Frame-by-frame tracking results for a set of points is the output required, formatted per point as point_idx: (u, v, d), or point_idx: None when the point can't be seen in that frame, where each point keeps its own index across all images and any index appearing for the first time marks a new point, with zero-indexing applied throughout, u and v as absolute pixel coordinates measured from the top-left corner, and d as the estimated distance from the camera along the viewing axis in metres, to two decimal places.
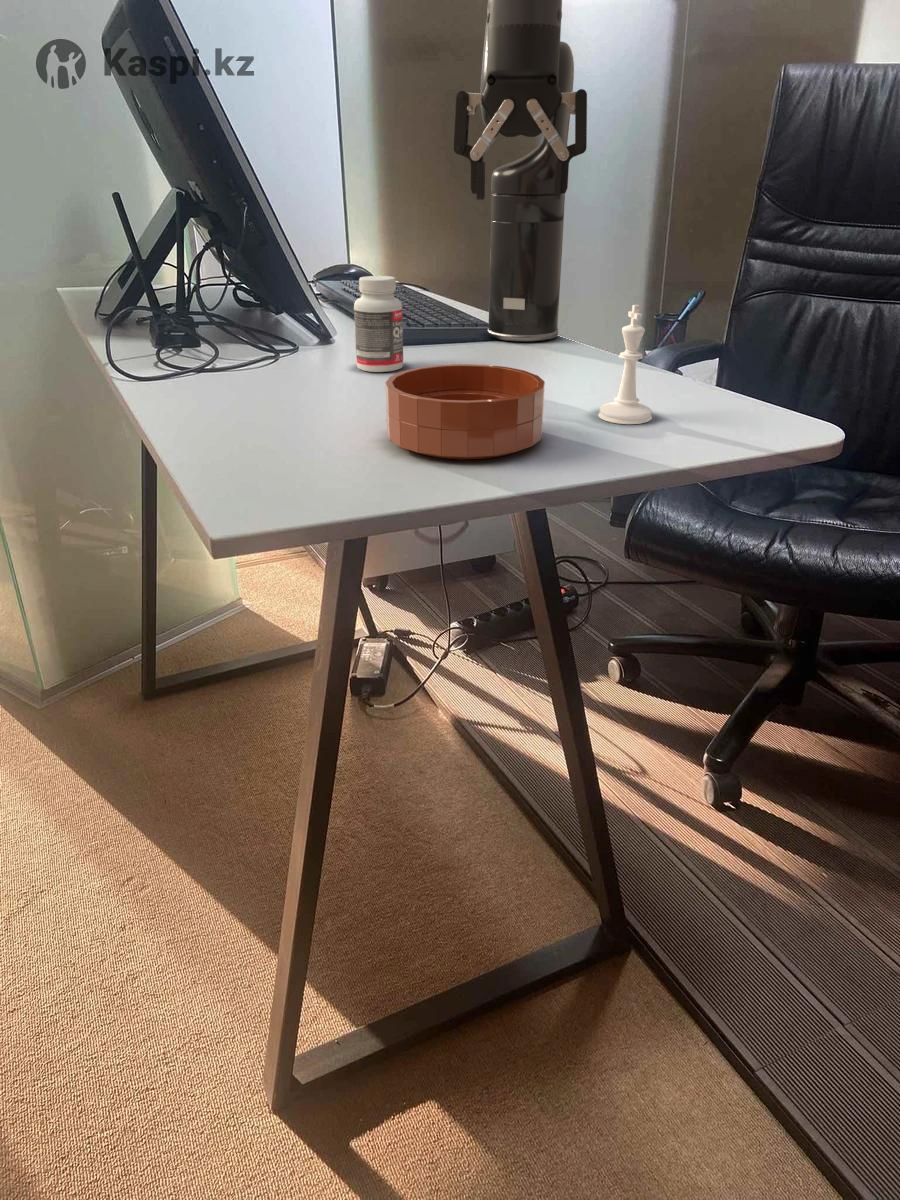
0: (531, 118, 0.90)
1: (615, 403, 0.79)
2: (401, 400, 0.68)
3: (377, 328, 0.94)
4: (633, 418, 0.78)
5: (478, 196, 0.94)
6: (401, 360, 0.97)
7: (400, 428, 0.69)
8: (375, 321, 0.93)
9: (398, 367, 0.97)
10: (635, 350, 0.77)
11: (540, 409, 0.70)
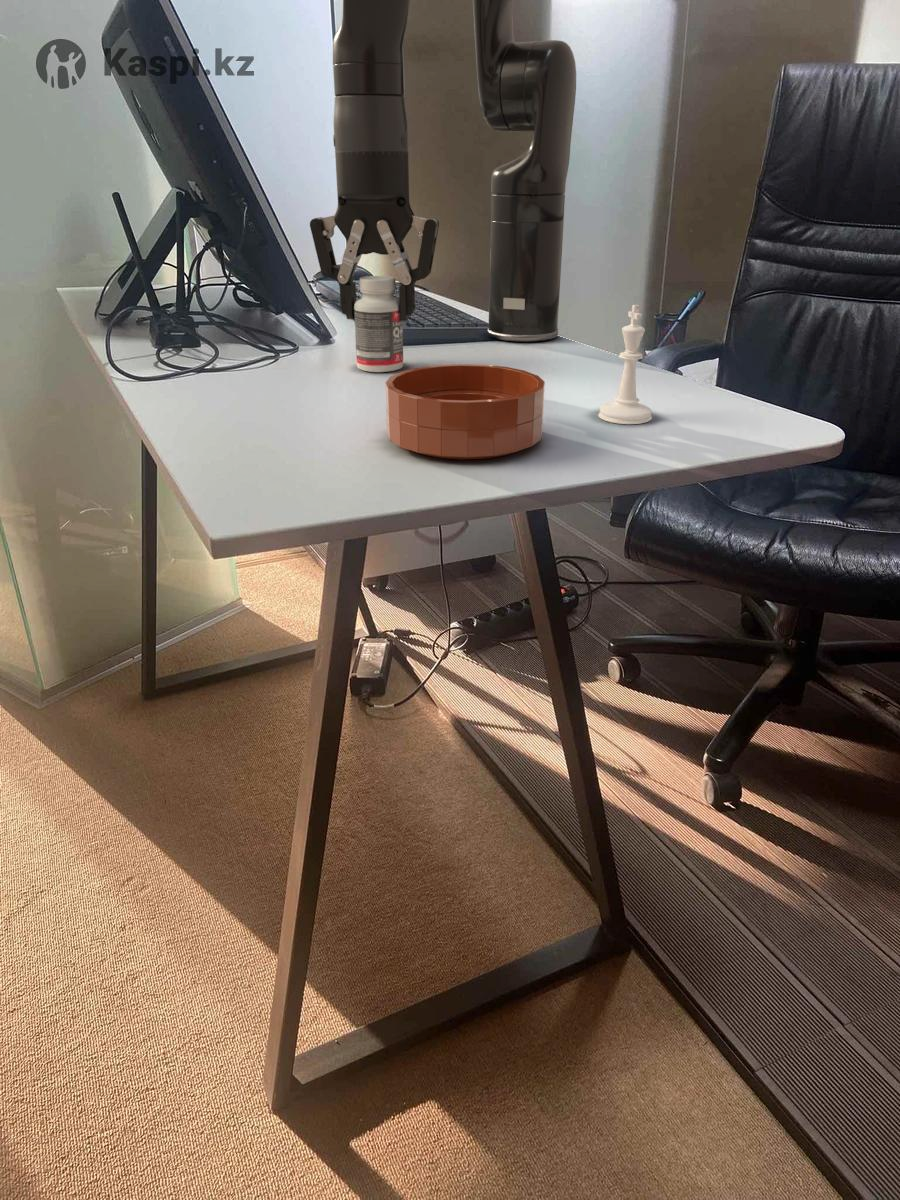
0: None
1: (615, 403, 0.79)
2: (401, 400, 0.68)
3: (377, 328, 0.94)
4: (633, 418, 0.78)
5: (348, 316, 0.95)
6: (401, 360, 0.97)
7: (400, 428, 0.69)
8: (375, 321, 0.93)
9: (398, 367, 0.97)
10: (635, 350, 0.77)
11: (540, 409, 0.70)
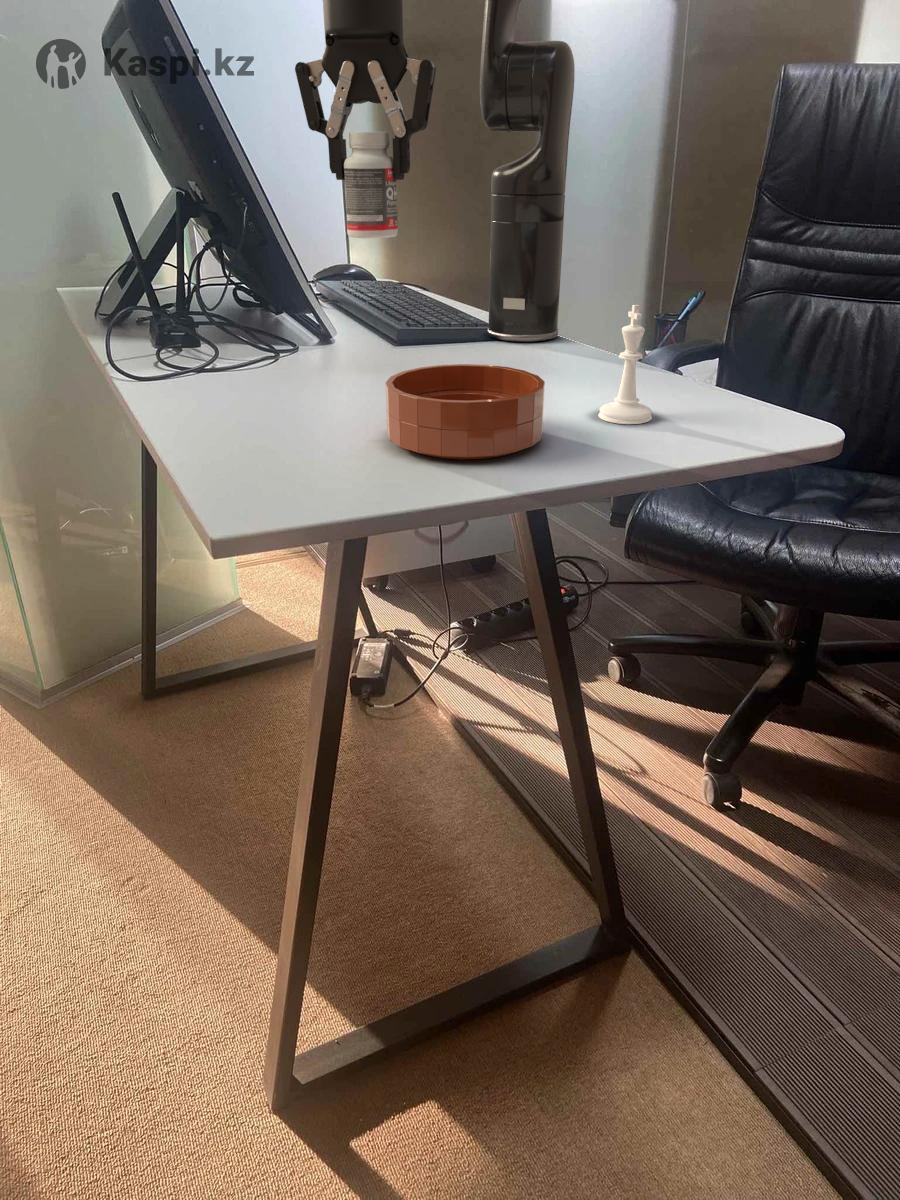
0: None
1: (615, 403, 0.79)
2: (401, 400, 0.68)
3: (369, 186, 0.86)
4: (633, 418, 0.78)
5: (338, 176, 0.88)
6: (395, 227, 0.89)
7: (400, 428, 0.69)
8: (366, 179, 0.86)
9: (392, 234, 0.89)
10: (635, 350, 0.77)
11: (540, 409, 0.70)
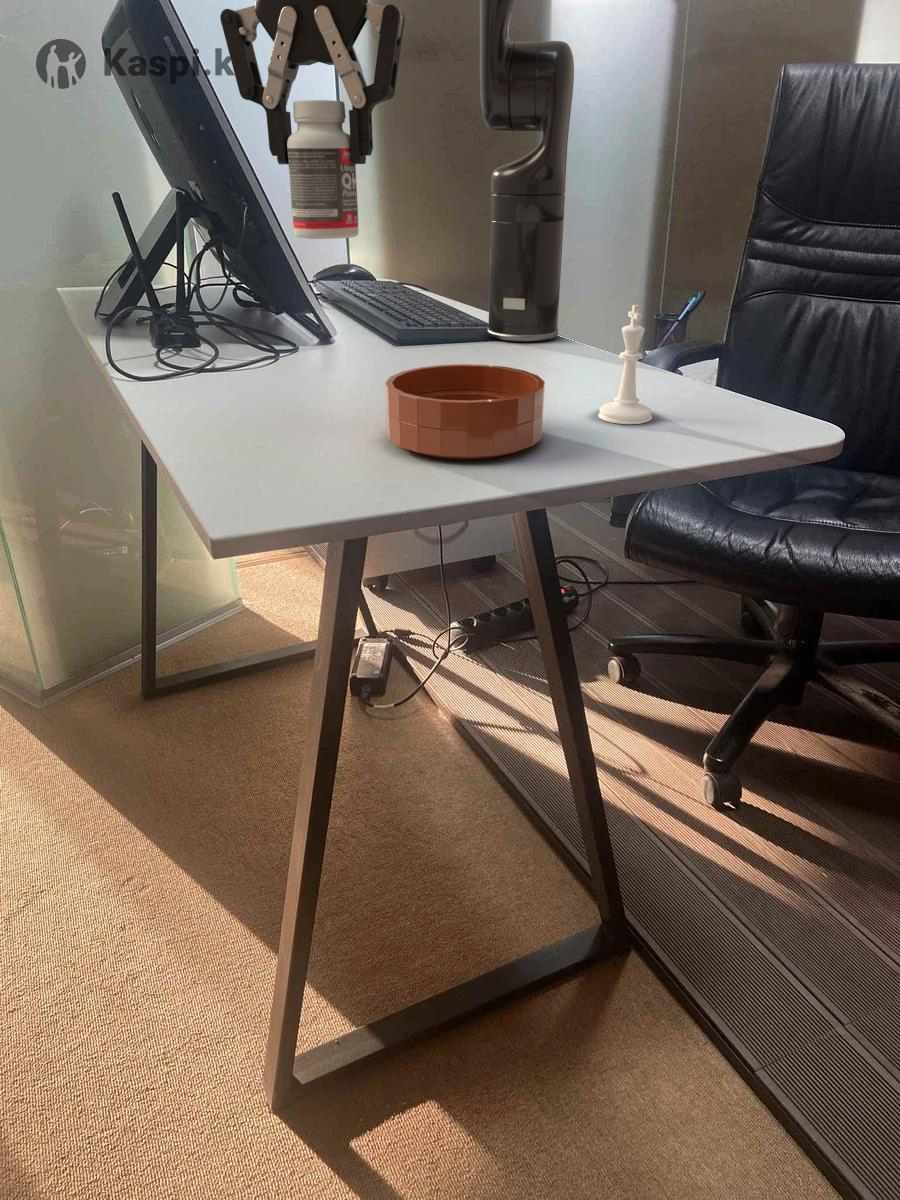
0: None
1: (615, 403, 0.79)
2: (401, 400, 0.68)
3: (319, 171, 0.66)
4: (633, 418, 0.78)
5: (280, 159, 0.68)
6: (355, 224, 0.70)
7: (400, 428, 0.69)
8: (315, 162, 0.66)
9: (350, 233, 0.70)
10: (635, 350, 0.77)
11: (540, 409, 0.70)
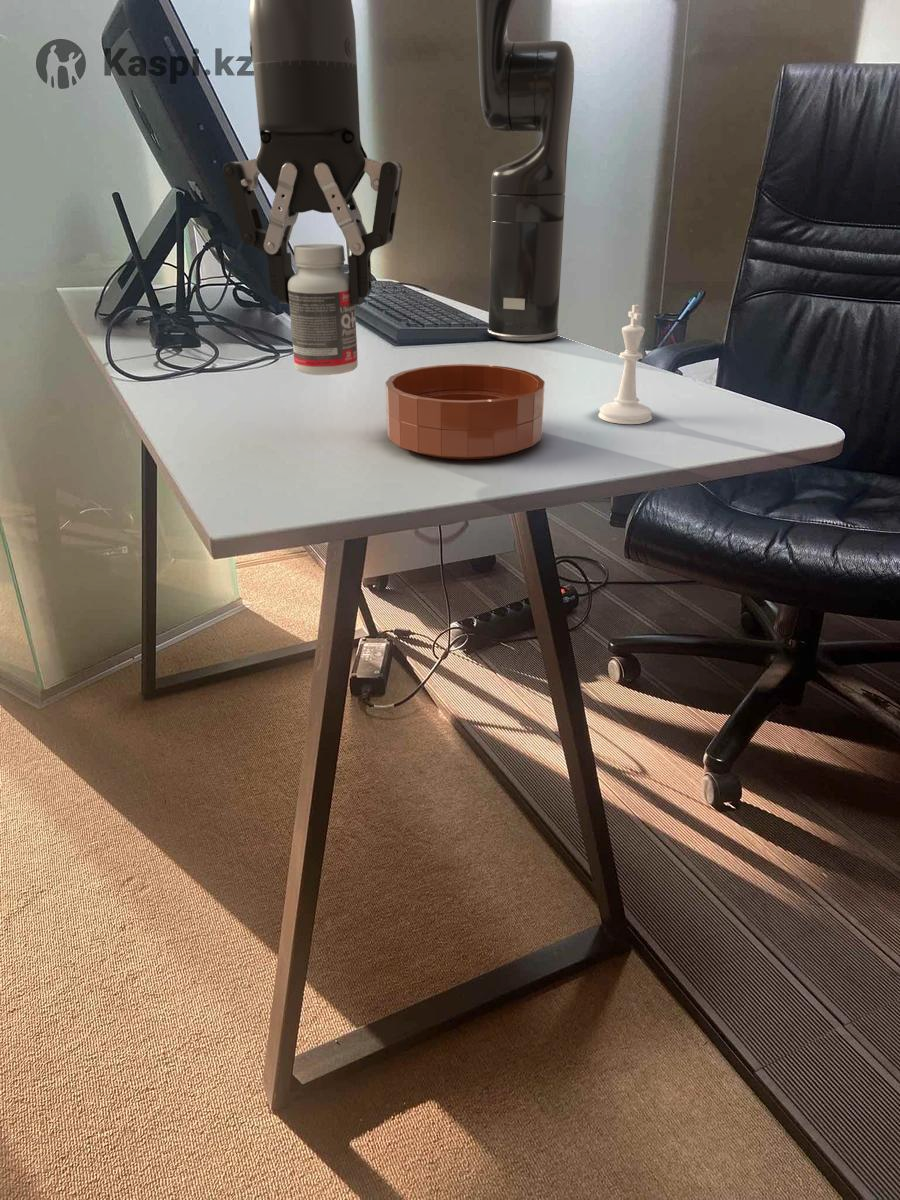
0: None
1: (615, 403, 0.79)
2: (401, 400, 0.68)
3: (319, 314, 0.68)
4: (633, 418, 0.78)
5: (281, 300, 0.70)
6: (354, 359, 0.72)
7: (400, 428, 0.69)
8: (315, 306, 0.68)
9: (350, 368, 0.71)
10: (635, 350, 0.77)
11: (540, 409, 0.70)
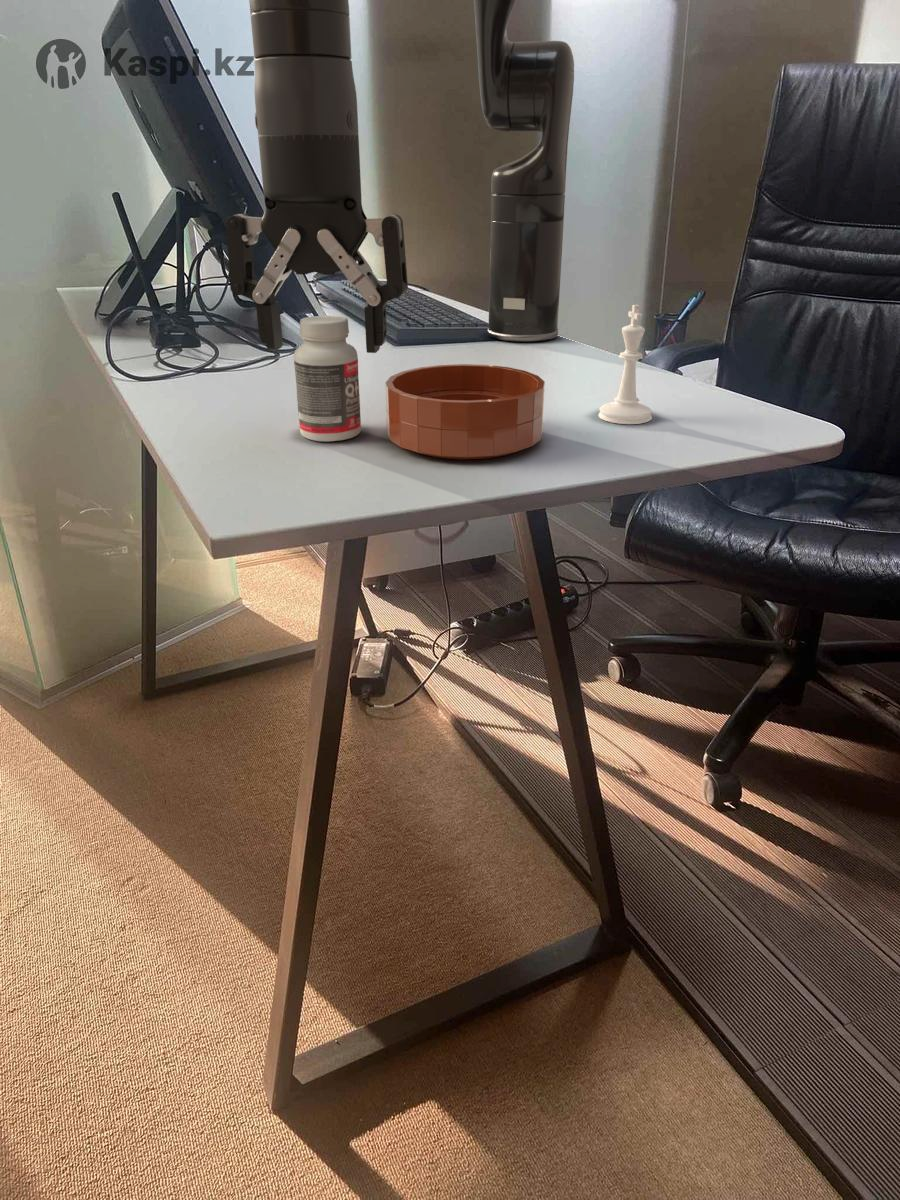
0: (327, 252, 0.67)
1: (615, 403, 0.79)
2: (401, 400, 0.68)
3: (324, 385, 0.71)
4: (633, 418, 0.78)
5: (269, 347, 0.72)
6: (357, 425, 0.74)
7: (400, 428, 0.69)
8: (320, 377, 0.70)
9: (353, 434, 0.74)
10: (635, 350, 0.77)
11: (540, 409, 0.70)
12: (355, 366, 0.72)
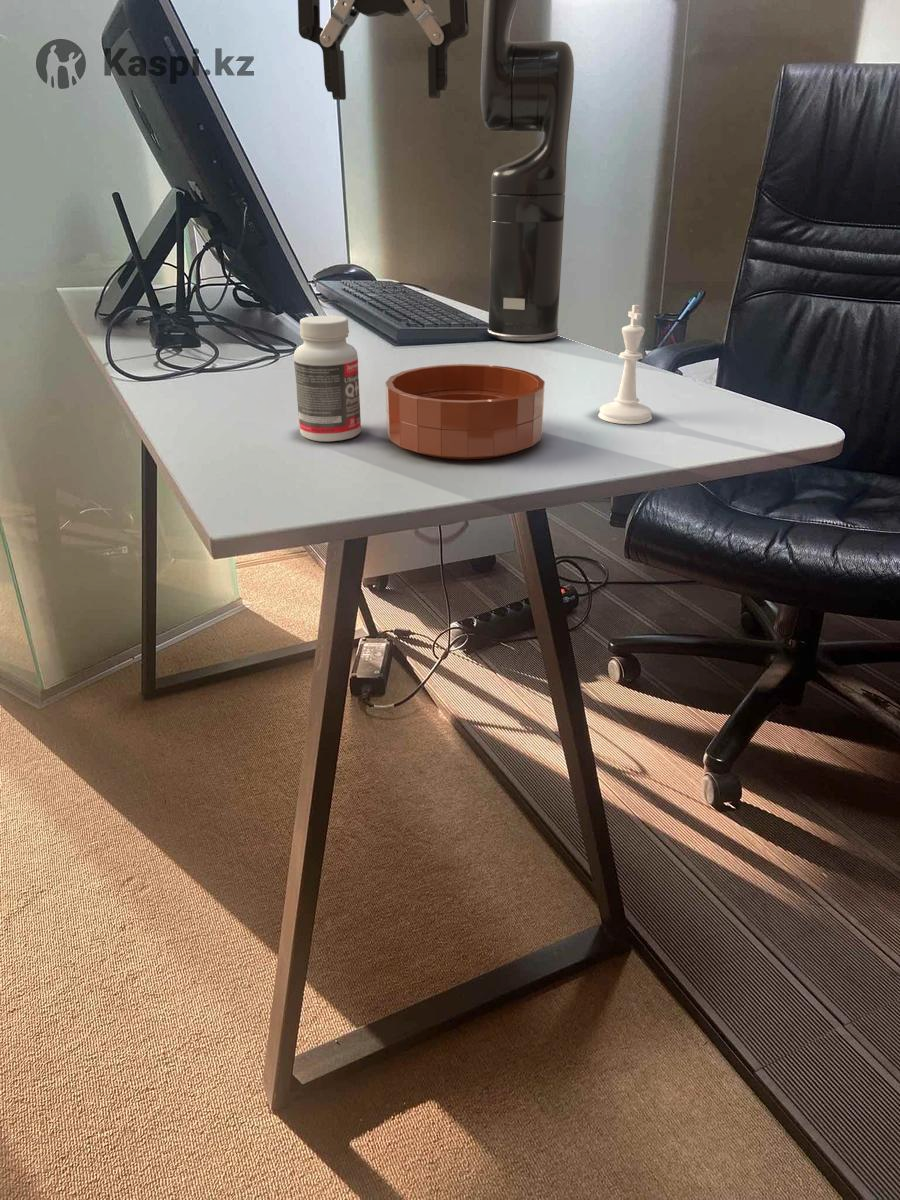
0: None
1: (615, 403, 0.79)
2: (401, 400, 0.68)
3: (324, 385, 0.71)
4: (633, 418, 0.78)
5: (334, 95, 0.75)
6: (357, 425, 0.74)
7: (400, 428, 0.69)
8: (320, 377, 0.70)
9: (353, 434, 0.74)
10: (635, 350, 0.77)
11: (540, 409, 0.70)
12: (355, 366, 0.72)
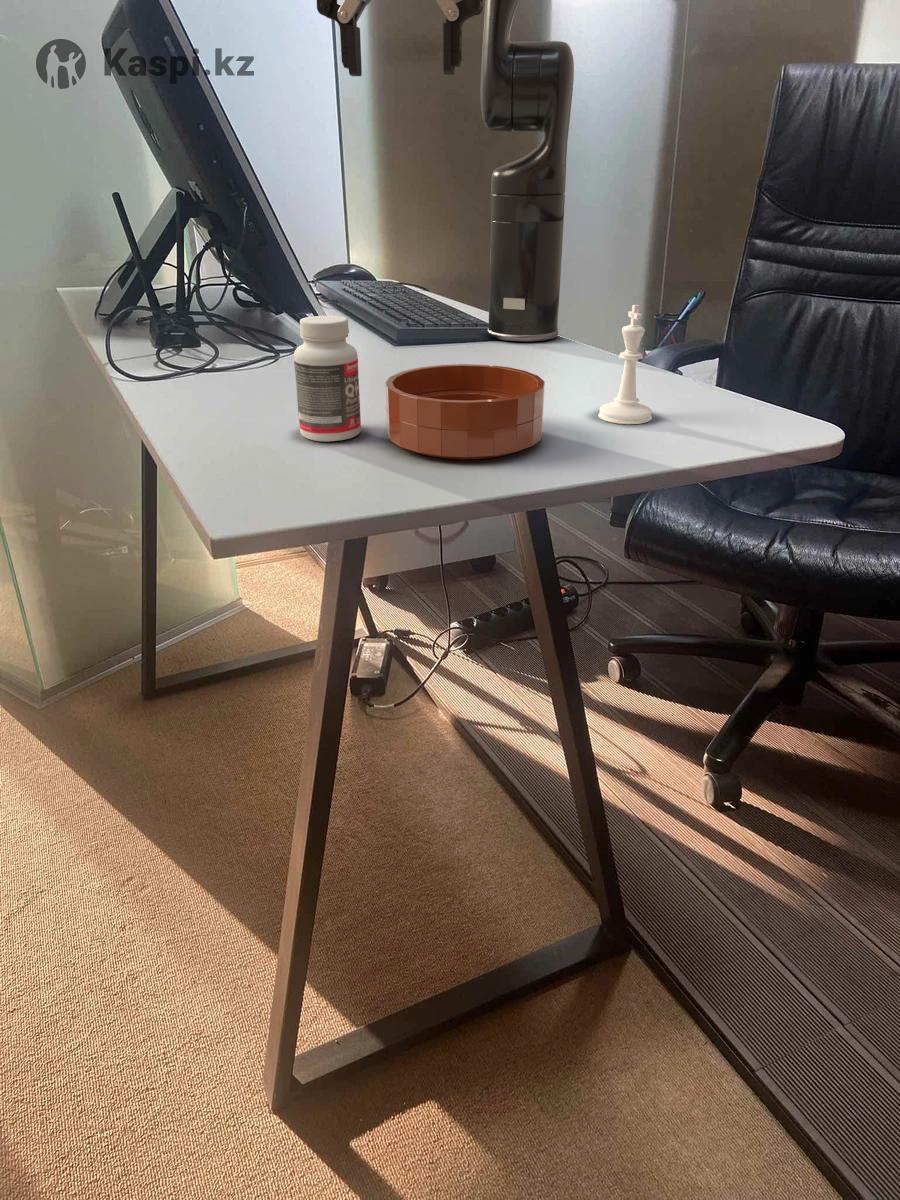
0: None
1: (615, 403, 0.79)
2: (401, 400, 0.68)
3: (324, 385, 0.71)
4: (633, 418, 0.78)
5: (351, 70, 0.76)
6: (357, 425, 0.74)
7: (400, 428, 0.69)
8: (320, 377, 0.70)
9: (353, 434, 0.74)
10: (635, 350, 0.77)
11: (540, 409, 0.70)
12: (355, 366, 0.72)
